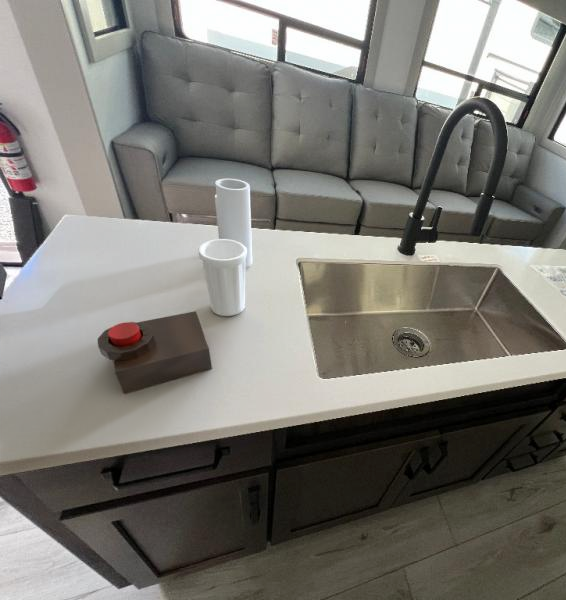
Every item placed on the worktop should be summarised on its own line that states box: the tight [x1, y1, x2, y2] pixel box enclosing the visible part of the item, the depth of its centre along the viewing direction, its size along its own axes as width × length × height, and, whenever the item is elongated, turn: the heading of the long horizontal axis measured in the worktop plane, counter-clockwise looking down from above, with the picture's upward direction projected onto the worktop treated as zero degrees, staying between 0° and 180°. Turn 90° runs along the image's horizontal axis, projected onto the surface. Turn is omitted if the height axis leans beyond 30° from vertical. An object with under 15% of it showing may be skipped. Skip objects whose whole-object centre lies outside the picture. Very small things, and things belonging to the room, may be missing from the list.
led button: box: [108, 321, 141, 347], centre depth 50 cm, size 4×4×2 cm
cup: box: [198, 238, 247, 317], centre depth 65 cm, size 8×8×14 cm
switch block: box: [97, 311, 213, 395], centre depth 54 cm, size 13×10×7 cm
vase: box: [214, 177, 253, 269], centre depth 78 cm, size 11×7×20 cm, turn 24°
